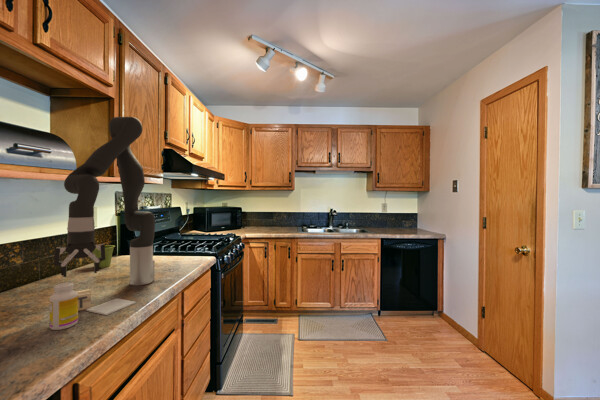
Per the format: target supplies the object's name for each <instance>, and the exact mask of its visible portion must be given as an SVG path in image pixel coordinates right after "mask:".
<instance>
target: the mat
mask: <svg viewBox="0 0 600 400" xmlns="http://www.w3.org/2000/svg"><path fill="white" fill-rule="evenodd" d="M136 303H137V302H136V301H133V300H128V299H122V298H119V297H118V298H114V299H111V300H108V301H105V302H104V303H101V304H98V305H94V306H91V308H89V309H85V311H86V312H90V313H95V314H99V315H104V316H108V315H111V314H113V313H115V312H118V311H120V310H123V309H125V308H127V307H128V308H129V306H133V305H134V304H136Z"/></svg>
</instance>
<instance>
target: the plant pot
mask: <svg viewBox="0 0 600 400" xmlns="http://www.w3.org/2000/svg"><path fill="white" fill-rule="evenodd" d="M104 245H105V244H104ZM115 247H116V245H111V244H109V245H105V260H103V261H101V262H100V263H99V269H100V268H101V269H103V268H108V267H110V266H111V263H112V258H113V257H112V256H113V252H114V248H115ZM92 253H93V254H94V255H95V256H96V257H97V258H100V257H101V250H100V251H99V250H98V248H95V250H94V251H93V252H92ZM92 262H93V266H94V265H95V261H94V260H93V259H92Z"/></svg>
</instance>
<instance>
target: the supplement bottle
mask: <svg viewBox="0 0 600 400" xmlns="http://www.w3.org/2000/svg"><path fill="white" fill-rule="evenodd" d="M74 287H75V284H74V282H72V281H71V282H62V283H58V284H56V285H54V286H53V291H54V293H53V294H51V295H50V296H49V300H48V301H49V329H51V330H53V331H58V330H65V329H69V328H72V327H73V326H75V325H76V324H77V323H78V322H79V311H78V293H77V291H78V290H74Z"/></svg>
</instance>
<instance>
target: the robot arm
mask: <svg viewBox="0 0 600 400" xmlns="http://www.w3.org/2000/svg"><path fill="white" fill-rule="evenodd" d="M108 128H109V133H110V137H111V140H109V141H107V142H106V143H104V144H102V145H101V146H98V148H96V149H95V150H94V151H93V152H92V153H91V155H89V157H88V158H87V159H86V160H85V162H84V163H83V164H81V165H80V166H77V168H75V169H74V170H73V171H72V172H70V173H69V174H68V175H67V176H66V178H65V180H64V183H63V185H64V186H63V187H64V189H65V190H66V192H68V193H69V194H73V195H77V197H76V199H75V200H73V201H70V202H69V205H68V219H67V227H66V230H67V238H66V239H67V244H66V247H60V246H57V247H56V248H55V250H54V259H53V265H54V266H59V267H60V275H61V277H63V278H67V271H68V270H67V264H68V263H69V262H71V260H72V259H82V258H83V259H86V258H88V257H89V258H90V259H92V261H93V260H94V261H95V265H94V264H93V266H94V269H93V270H94V271H93V272H94V274H97V273H98V272H99V271H100V267H99V263H100V262H101V261H103V260H105V244H104V243H101V244H95V226H96V225H95V204H96V201H97V198H98V195H99V191H100V182H99V180H98V177H102V176H103V175H105V174H106V172H107V171H108V169H109V168H110V167H111V166H112V164H113V163H114V162H115V161H116V160H117V165H118V174H119V180H120V184H121V190H122V195H123V197H122V198H123V205H124V206H123V208H124V223H125V226H126V228H127V229H128V231H131V232H139V235H138V236H137V237H136V238H133V239H131V240H130V242H129V285H130V286H144V285H148V284H150V283H152V282H153V281H155V270H156V268H155V267H156V265H155V263H156V262H155V260H154V247H153V246H154V239H155V230H156V218H155V215H154V213H153V212H151V211H140V210H139V202H138V201H139V197H140V196H141V194H142V191H143V189H144V187H145V184H146V182H145V181H146V179H145V173H144V168H143V166H142V165H141V162H139V160H138V159H137V158H136V156H135V155H134V153H133V151H132V149H131V145H132V144H133V143H134V142H135V141H136V140H138V139H139V138H140V137H141V135H142V133H143V125H142V122H141V120H139V118H137V117H134V116H115V117H112V118H111V119H110V121H109V124H108ZM95 248H98V250H99V251H100V250H101V257H100V258H97V257H96V256H95V255H94V254H93V253H92V252H93V251H94V250H95ZM63 252H66V254H68V255H67V256H66V258H65V259H63V261H60V255H62V254H63Z"/></svg>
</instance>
